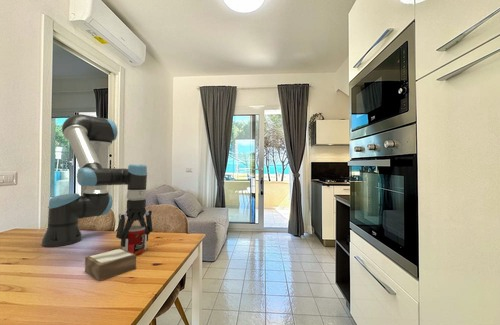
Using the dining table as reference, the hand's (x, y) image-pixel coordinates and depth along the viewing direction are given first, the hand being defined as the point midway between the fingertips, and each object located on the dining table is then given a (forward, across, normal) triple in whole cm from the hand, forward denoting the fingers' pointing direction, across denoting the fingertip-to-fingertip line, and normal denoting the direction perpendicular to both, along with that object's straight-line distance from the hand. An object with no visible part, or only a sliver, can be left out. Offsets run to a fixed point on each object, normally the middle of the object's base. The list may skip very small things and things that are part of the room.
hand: (134, 251), depth 99 cm
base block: (+1, -14, -10) cm, 17 cm away
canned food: (+1, 0, 0) cm, 1 cm away
